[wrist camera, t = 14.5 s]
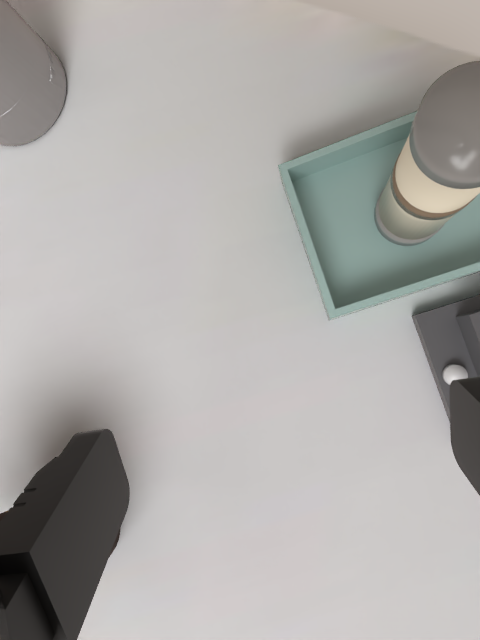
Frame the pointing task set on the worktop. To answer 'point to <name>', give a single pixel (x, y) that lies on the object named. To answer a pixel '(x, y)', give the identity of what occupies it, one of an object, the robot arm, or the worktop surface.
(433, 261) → the parts tray
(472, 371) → the fuse holder
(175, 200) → the worktop surface
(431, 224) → the cylinder
